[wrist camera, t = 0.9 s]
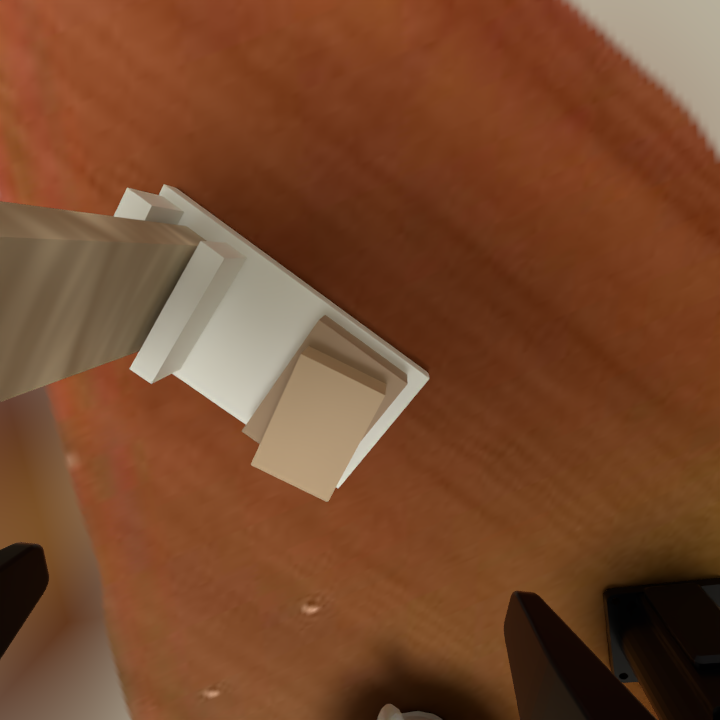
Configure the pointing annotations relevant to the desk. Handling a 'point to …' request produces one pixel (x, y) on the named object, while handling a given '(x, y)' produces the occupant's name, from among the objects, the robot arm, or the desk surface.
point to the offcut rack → (272, 352)
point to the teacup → (404, 714)
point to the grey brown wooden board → (80, 289)
